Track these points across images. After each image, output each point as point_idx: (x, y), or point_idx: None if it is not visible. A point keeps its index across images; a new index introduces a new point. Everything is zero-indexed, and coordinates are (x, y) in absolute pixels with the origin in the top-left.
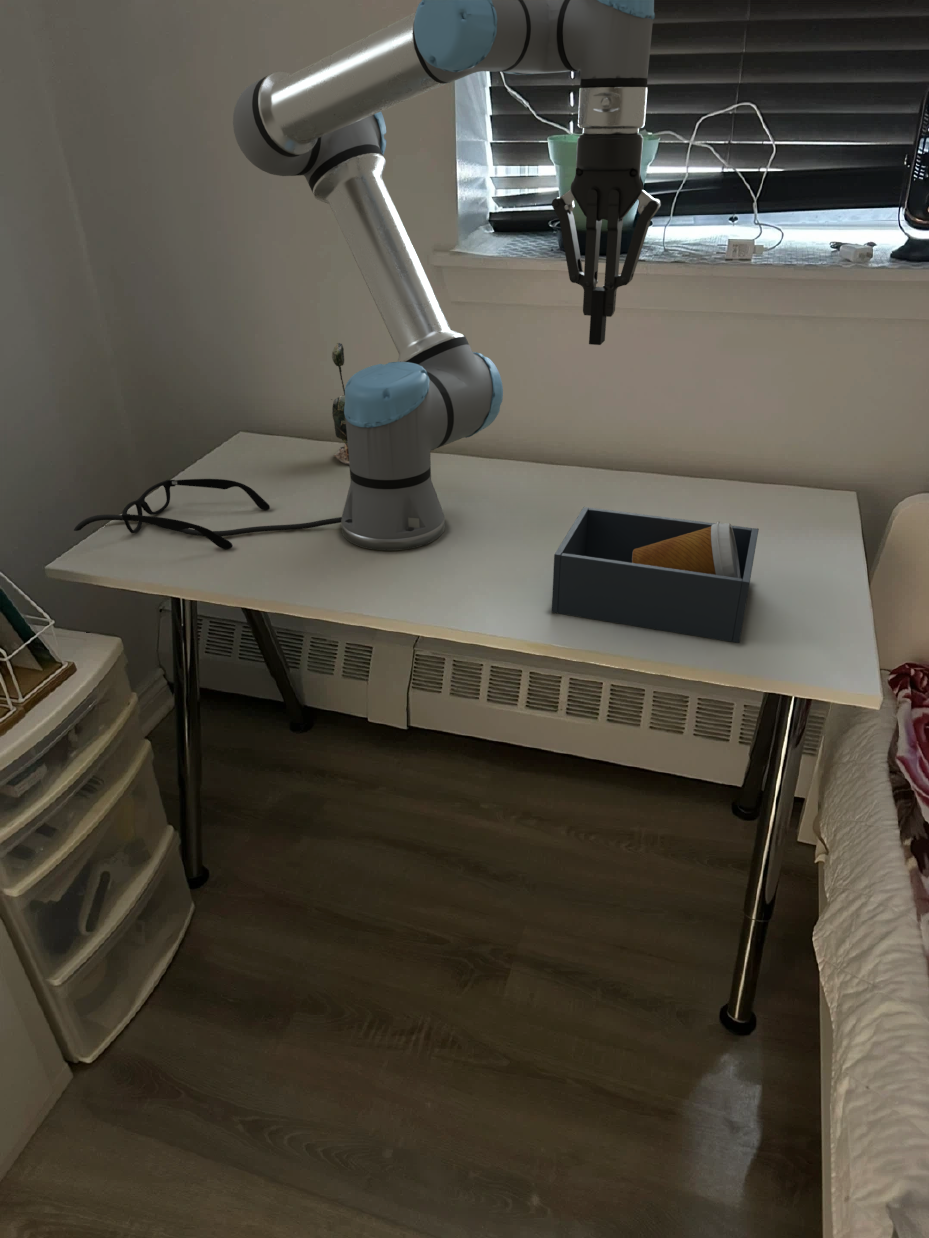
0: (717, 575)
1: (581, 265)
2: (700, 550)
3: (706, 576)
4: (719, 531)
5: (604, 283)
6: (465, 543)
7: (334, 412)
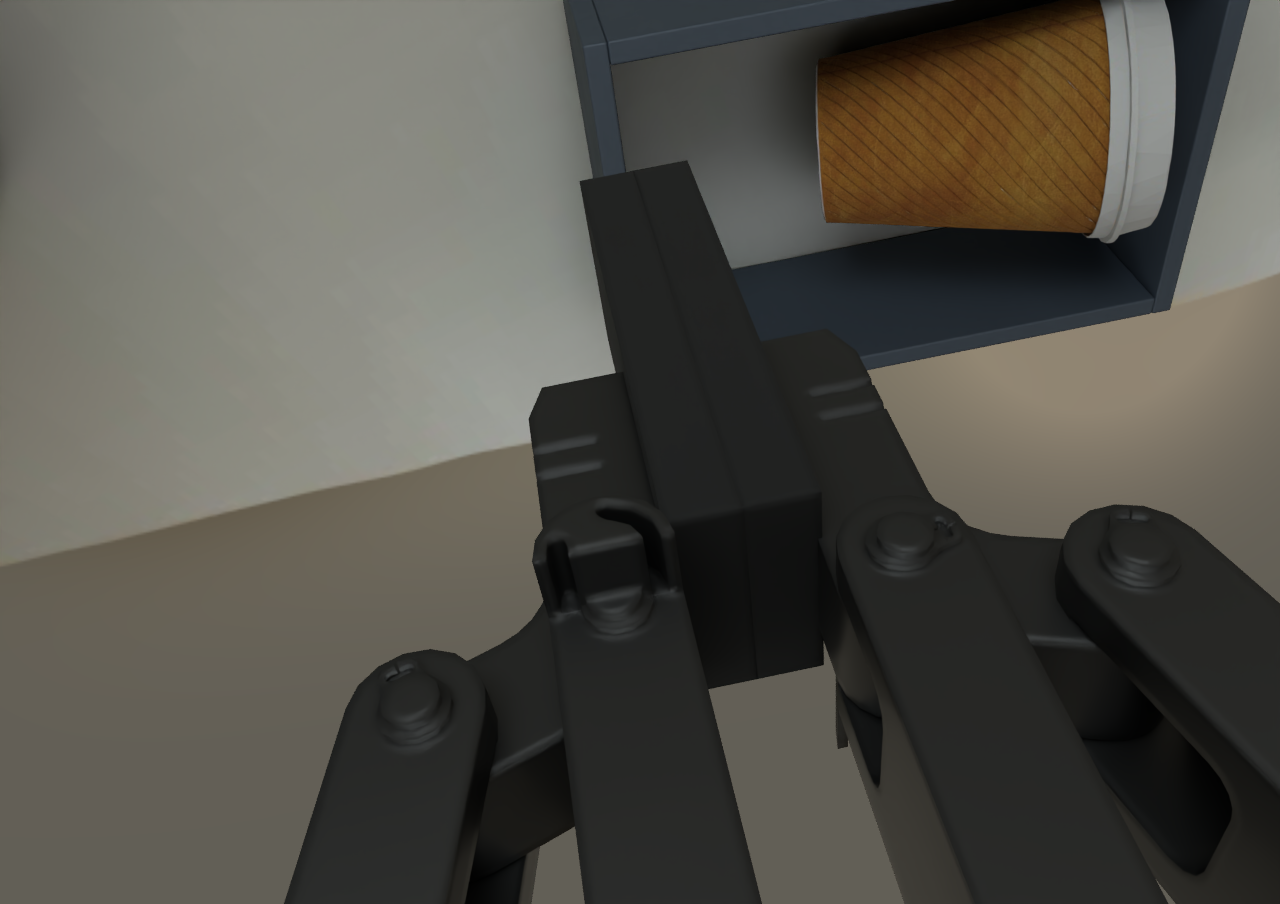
0: (1090, 314)
1: (468, 847)
2: (1052, 228)
3: (1060, 330)
4: (1131, 205)
5: (843, 723)
6: (96, 41)
7: None
